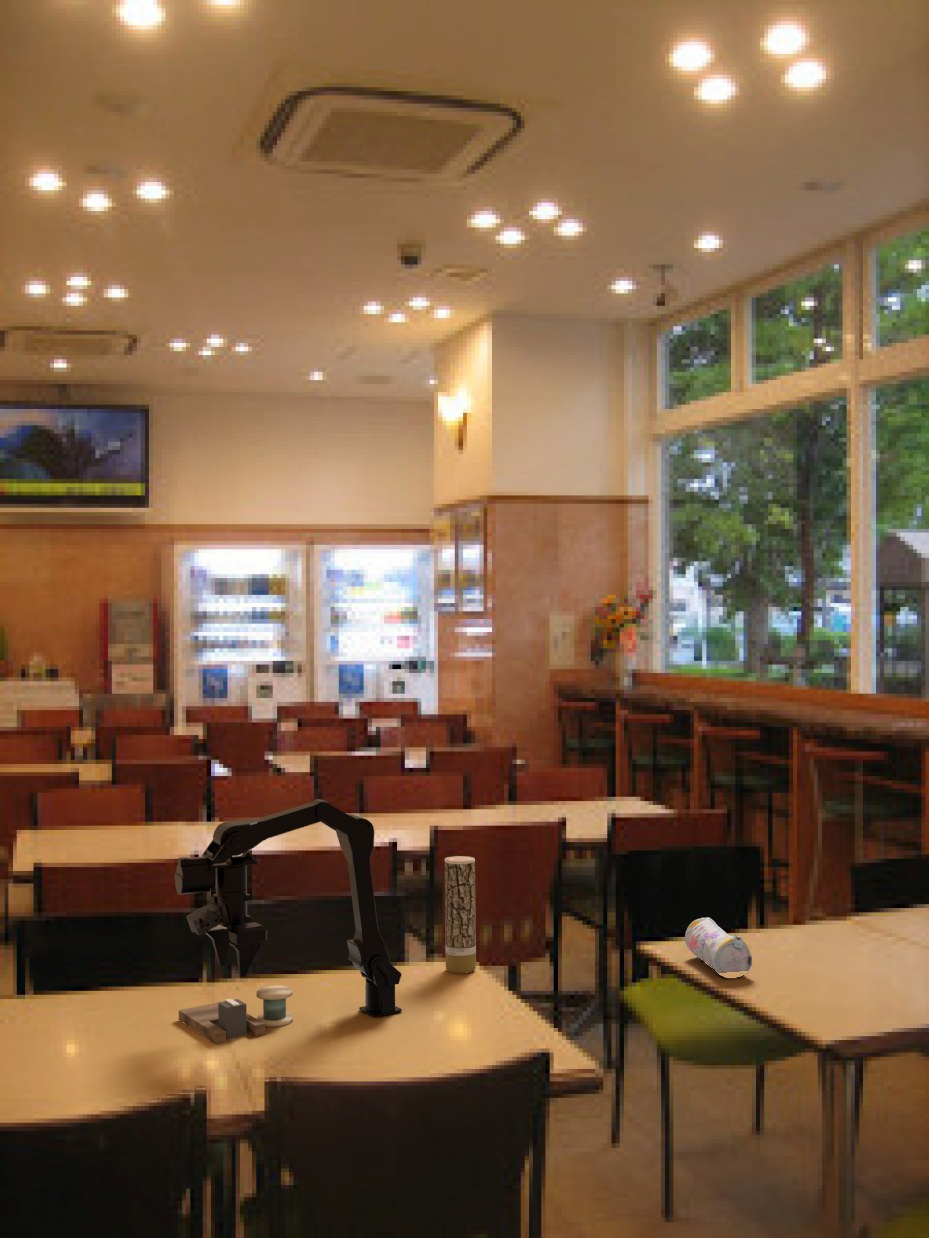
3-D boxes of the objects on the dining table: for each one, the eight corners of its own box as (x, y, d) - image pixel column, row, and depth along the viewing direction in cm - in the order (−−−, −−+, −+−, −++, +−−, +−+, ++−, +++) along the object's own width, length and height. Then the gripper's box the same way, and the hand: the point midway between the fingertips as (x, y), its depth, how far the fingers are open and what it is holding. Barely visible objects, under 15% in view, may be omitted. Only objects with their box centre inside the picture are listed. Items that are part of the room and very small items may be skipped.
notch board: (265, 1034, 243) (265, 1023, 243) (216, 1044, 237) (216, 1033, 237) (225, 1010, 258) (225, 1001, 258) (178, 1020, 252) (178, 1010, 252)
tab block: (246, 1035, 242) (246, 1002, 242) (227, 1039, 240) (226, 1006, 240) (238, 1030, 246) (237, 997, 246) (218, 1033, 244) (218, 1000, 244)
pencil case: (754, 980, 277) (754, 936, 277) (716, 982, 275) (715, 938, 275) (718, 955, 297) (717, 914, 297) (682, 957, 296) (682, 916, 296)
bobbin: (298, 1022, 250) (298, 991, 250) (266, 1029, 246) (266, 998, 246) (282, 1013, 256) (282, 983, 256) (250, 1020, 252) (250, 989, 252)
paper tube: (472, 975, 282) (471, 862, 282) (442, 974, 283) (441, 861, 283) (478, 967, 289) (477, 856, 289) (449, 965, 290) (448, 855, 290)
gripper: (172, 886, 246) (173, 967, 246) (212, 903, 231) (212, 990, 231) (226, 879, 253) (226, 958, 253) (268, 895, 237) (268, 979, 237)
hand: (232, 971), depth 243 cm, fingers open, 9 cm apart
